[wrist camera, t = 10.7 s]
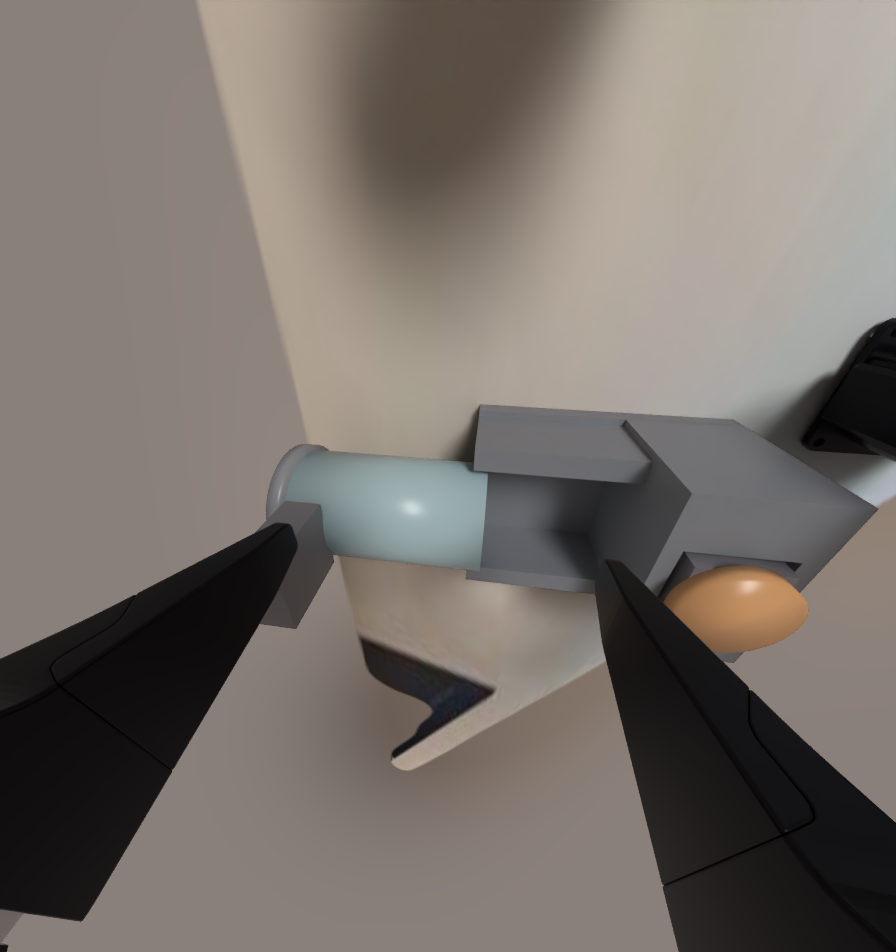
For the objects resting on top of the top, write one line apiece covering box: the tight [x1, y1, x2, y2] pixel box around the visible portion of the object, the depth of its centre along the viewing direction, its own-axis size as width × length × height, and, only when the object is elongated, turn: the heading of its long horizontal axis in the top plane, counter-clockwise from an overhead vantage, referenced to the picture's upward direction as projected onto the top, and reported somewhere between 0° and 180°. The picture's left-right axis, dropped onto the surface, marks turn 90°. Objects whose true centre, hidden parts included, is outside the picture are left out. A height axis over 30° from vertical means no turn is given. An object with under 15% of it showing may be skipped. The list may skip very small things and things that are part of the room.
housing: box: [466, 405, 878, 663], centre depth 18 cm, size 14×10×8 cm
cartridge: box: [255, 444, 488, 629], centre depth 17 cm, size 11×7×10 cm, turn 89°
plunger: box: [657, 551, 808, 653], centre depth 14 cm, size 5×5×4 cm
